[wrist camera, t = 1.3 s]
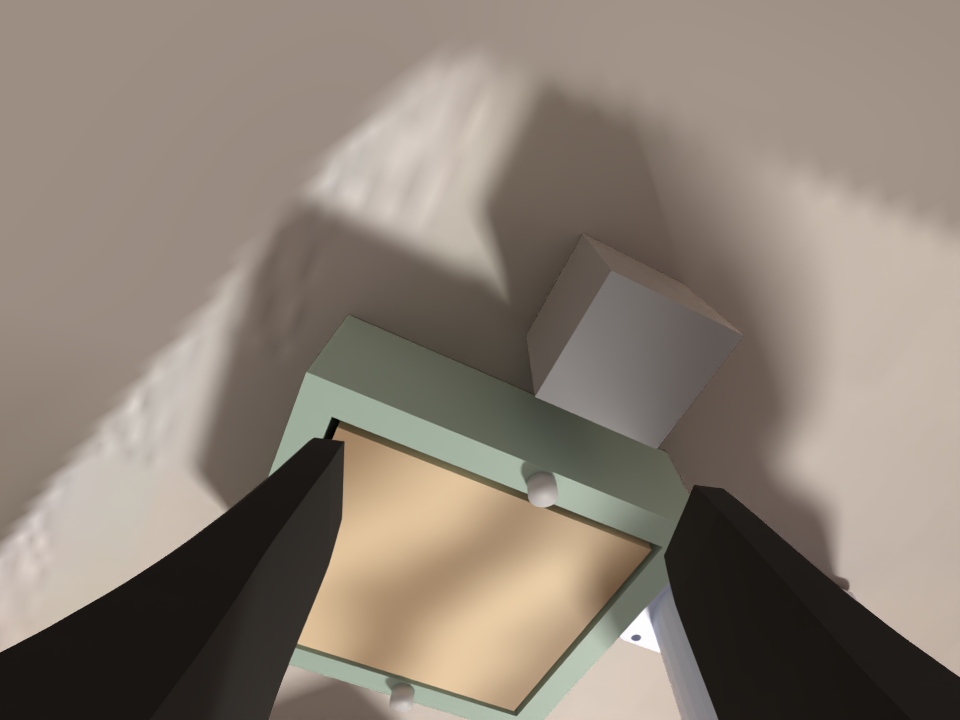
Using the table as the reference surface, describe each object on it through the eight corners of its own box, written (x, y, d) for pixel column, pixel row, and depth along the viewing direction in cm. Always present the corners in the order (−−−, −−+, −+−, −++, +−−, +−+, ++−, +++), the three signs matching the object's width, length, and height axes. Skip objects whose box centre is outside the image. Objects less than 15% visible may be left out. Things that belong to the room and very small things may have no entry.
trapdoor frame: (667, 452, 22) (717, 549, 17) (522, 637, 28) (528, 751, 23) (348, 314, 20) (299, 381, 15) (259, 548, 26) (201, 654, 21)
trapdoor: (633, 501, 21) (651, 549, 18) (511, 655, 25) (513, 711, 23) (356, 388, 19) (337, 427, 16) (277, 578, 23) (253, 629, 21)
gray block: (685, 284, 19) (744, 335, 15) (621, 378, 21) (656, 449, 17) (582, 232, 18) (611, 270, 14) (525, 335, 20) (534, 397, 16)
